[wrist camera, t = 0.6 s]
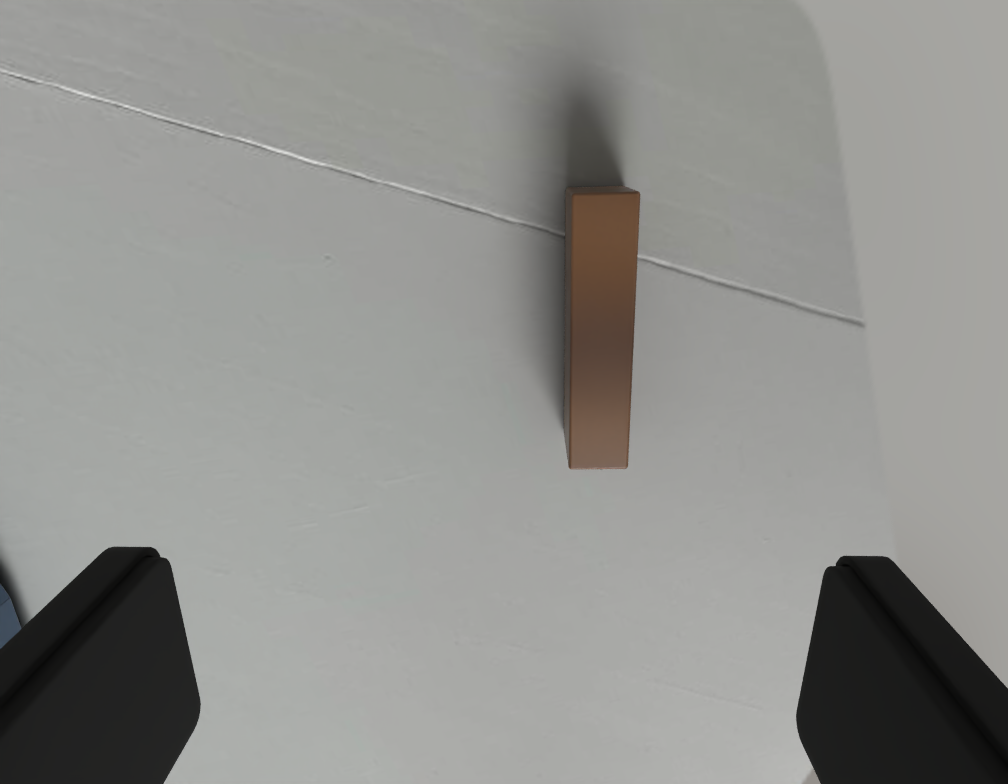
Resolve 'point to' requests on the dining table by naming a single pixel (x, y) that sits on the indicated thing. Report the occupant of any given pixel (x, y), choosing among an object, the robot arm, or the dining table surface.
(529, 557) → the dining table surface
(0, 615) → the round tray
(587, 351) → the brown wooden block
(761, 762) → the dining table surface
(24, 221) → the dining table surface
